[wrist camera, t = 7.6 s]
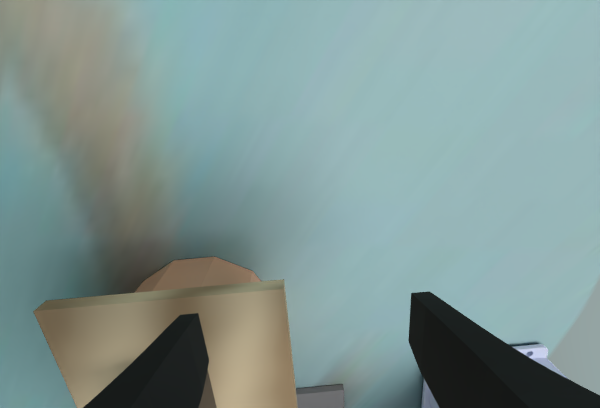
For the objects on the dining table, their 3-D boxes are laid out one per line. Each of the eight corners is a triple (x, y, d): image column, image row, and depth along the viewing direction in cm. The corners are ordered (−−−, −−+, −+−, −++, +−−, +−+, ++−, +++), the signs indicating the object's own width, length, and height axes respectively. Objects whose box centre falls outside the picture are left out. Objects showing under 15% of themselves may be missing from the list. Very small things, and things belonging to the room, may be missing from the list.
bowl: (270, 251, 19) (265, 293, 15) (284, 366, 23) (283, 426, 18) (118, 265, 19) (70, 311, 15) (154, 378, 23) (124, 442, 18)
